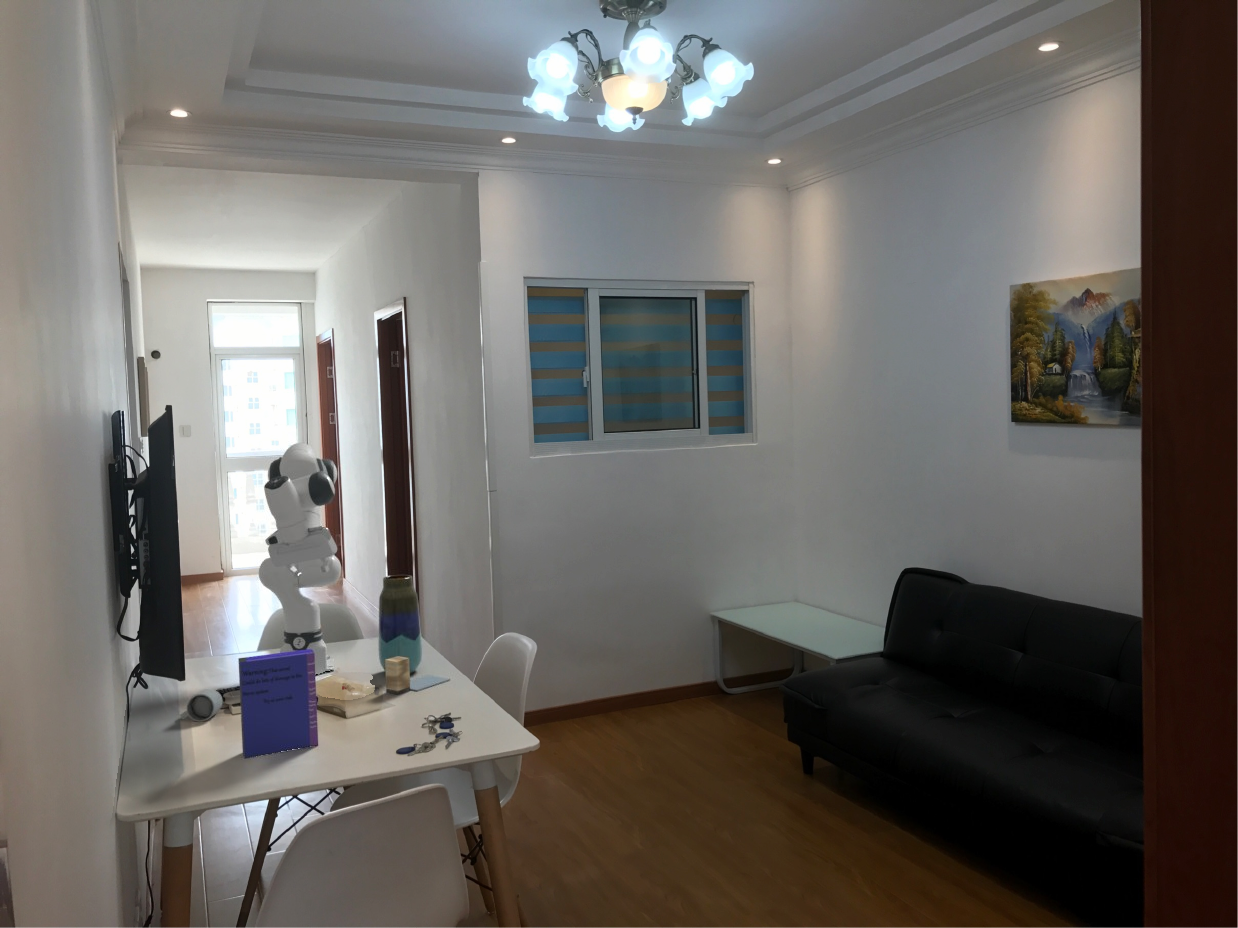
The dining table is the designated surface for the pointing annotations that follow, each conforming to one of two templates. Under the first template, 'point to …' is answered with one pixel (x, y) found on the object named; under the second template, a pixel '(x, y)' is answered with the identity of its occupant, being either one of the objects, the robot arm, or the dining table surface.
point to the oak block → (397, 675)
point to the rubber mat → (425, 682)
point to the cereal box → (278, 702)
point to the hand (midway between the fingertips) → (312, 573)
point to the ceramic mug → (203, 706)
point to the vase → (399, 621)
